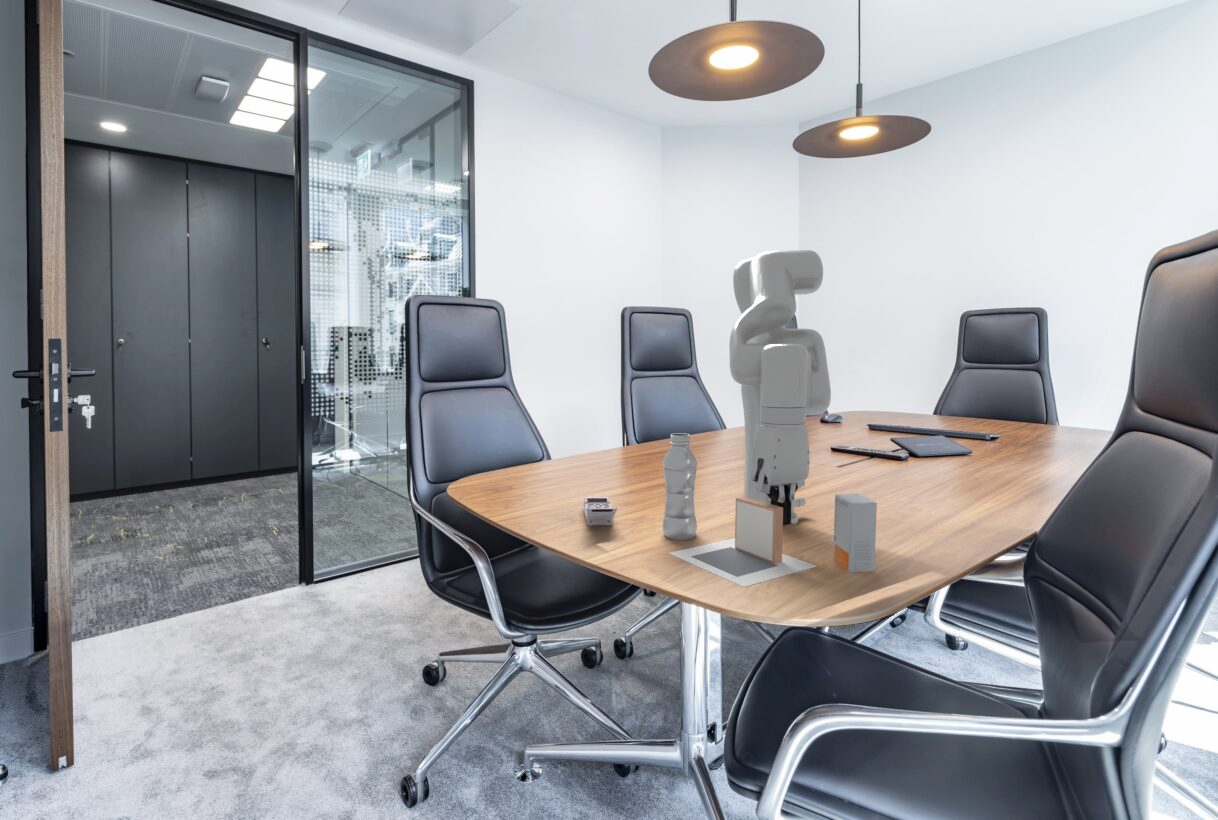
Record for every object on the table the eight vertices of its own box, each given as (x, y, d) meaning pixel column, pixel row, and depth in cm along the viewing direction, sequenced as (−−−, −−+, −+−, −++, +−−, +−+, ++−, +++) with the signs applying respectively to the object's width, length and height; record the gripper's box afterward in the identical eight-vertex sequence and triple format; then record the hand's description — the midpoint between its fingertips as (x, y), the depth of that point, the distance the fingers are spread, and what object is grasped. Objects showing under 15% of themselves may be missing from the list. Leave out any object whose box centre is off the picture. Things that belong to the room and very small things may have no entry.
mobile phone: (586, 508, 117) (582, 480, 141) (586, 539, 117) (582, 505, 142) (618, 508, 117) (608, 480, 142) (617, 538, 118) (608, 505, 142)
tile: (742, 546, 108) (743, 496, 107) (781, 561, 100) (783, 507, 100) (734, 548, 107) (735, 498, 106) (773, 563, 99) (774, 509, 99)
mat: (737, 542, 114) (737, 537, 113) (816, 572, 98) (817, 565, 98) (668, 558, 105) (668, 552, 105) (743, 593, 90) (743, 586, 90)
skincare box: (831, 564, 102) (834, 493, 101) (856, 564, 102) (859, 493, 101) (849, 578, 96) (851, 502, 95) (875, 577, 96) (878, 502, 95)
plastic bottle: (700, 536, 117) (701, 432, 115) (693, 547, 111) (693, 437, 109) (667, 533, 119) (667, 431, 118) (658, 544, 113) (658, 436, 111)
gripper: (795, 413, 111) (792, 512, 113) (734, 417, 103) (733, 524, 105) (829, 416, 105) (827, 521, 107) (768, 421, 97) (766, 535, 99)
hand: (780, 523), depth 106 cm, fingers closed
